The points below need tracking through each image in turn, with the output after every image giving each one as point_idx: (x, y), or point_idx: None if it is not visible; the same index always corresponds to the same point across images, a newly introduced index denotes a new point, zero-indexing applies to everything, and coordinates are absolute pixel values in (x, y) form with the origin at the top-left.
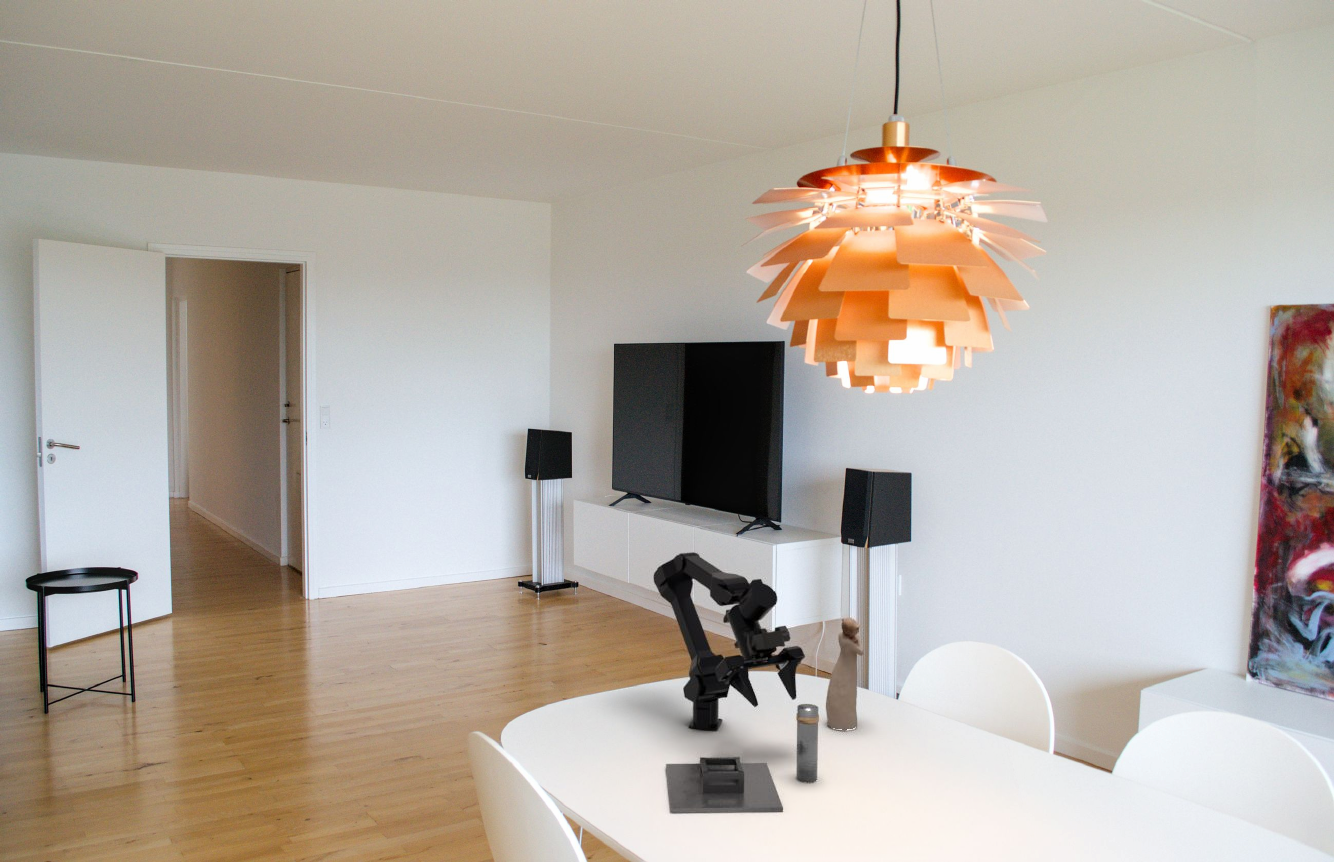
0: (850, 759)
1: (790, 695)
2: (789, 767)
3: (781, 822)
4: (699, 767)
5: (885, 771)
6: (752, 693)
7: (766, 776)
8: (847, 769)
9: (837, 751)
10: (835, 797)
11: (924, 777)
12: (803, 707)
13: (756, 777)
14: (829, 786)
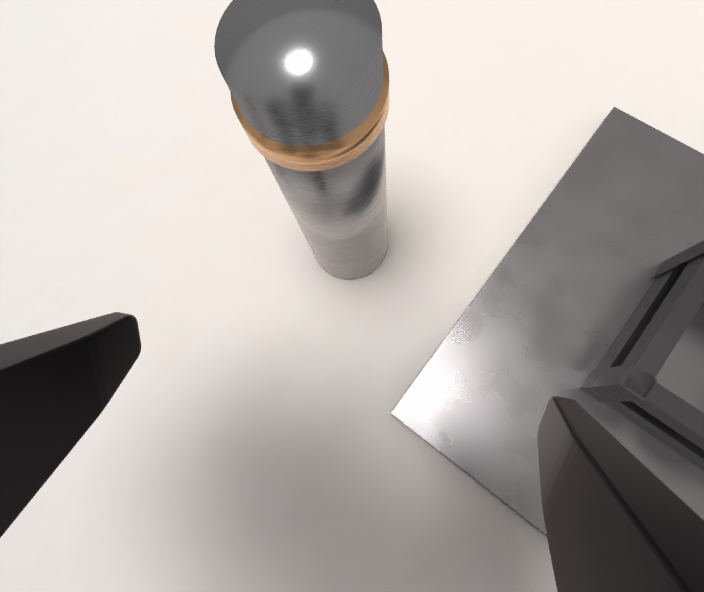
0: (101, 264)
1: (115, 380)
2: (322, 351)
3: (660, 71)
4: None
5: (110, 135)
6: (636, 479)
7: (487, 315)
8: (182, 214)
9: None
10: None
11: (71, 49)
12: (329, 48)
13: (527, 332)
14: None
